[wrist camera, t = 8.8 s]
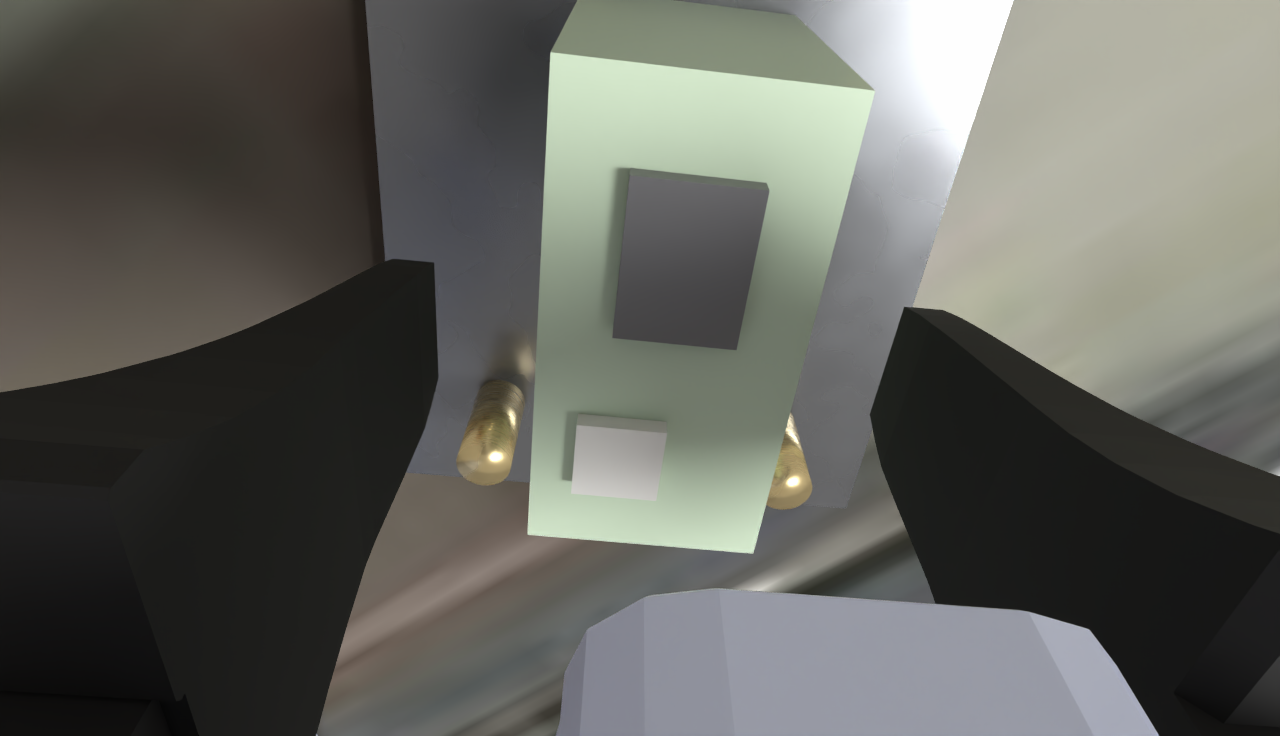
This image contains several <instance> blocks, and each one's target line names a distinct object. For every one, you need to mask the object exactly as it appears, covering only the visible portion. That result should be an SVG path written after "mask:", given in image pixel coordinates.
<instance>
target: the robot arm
mask: <svg viewBox="0 0 1280 736" xmlns="http://www.w3.org/2000/svg"><path fill="white" fill-rule="evenodd" d="M438 378H439V374H438V348H437V322H436V296H435V270H434V262H424V261H413V260H403V259H391V260H388V261H385V262H383V263H380V264H378V265H376V266H374V267H372V268H370V269H368V270H366V271H364V272H362V273H360V274H358V275H356V276H354V277H353V278H351V279H349V280H347V281H345V282H343V283H341V284H339V285H337V286H335V287H333V288H332V289H330V290H328V291H326V292H324V293H322V294H320V295H318V296H316V297H314V298H312V299H310V300H308V301H306V302H304V303H302V304H300V305H298V306H295V307H293V308H291V309H289V310H287V311H285V312H282V313H280V314H278V315H276V316H274V317H272V318H269V319H267V320H265V321H263V322H261V323H258V324H256V325H254V326H252V327H249V328H247V329H244V330H242V331H239V332H237V333H234V334H232V335H229V336H226V337H224V338H221V339H218V340H215V341H212V342H209V343H207V344H204V345H201V346H198V347H195V348H192V349H189V350H186V351H183V352H180V353H176V354H173V355H170V356H166V357H162V358H158V359H154V360H151V361H147V362H143V363H139V364H136V365H132V366H128V367H124V368H121V369H117V370H113V371H109V372H105V373H101V374H97V375H92V376H88V377H83V378H78V379H73V380H68V381H63V382H58V383H53V384H48V385H42V386H36V387H30V388H25V389H19V390H13V391H7V392H1V393H0V736H317V730H318V726H319V723H320V719H321V715H322V711H323V708H324V704H325V700H326V696H327V693H328V689H329V685H330V682H331V679H332V675H333V672H334V668H335V665H336V661H337V658H338V654H339V651H340V648H341V644H342V641H343V637H344V634H345V630H346V627H347V623H348V620H349V617H350V614H351V611H352V607H353V604H354V601H355V598H356V595H357V591H358V588H359V585H360V582H361V578H362V575H363V572H364V569H365V566H366V563H367V561H368V558H369V556H370V553H371V550H372V548H373V545H374V543H375V540H376V538H377V536H378V533H379V531H380V529H381V527H382V525H383V522H384V520H385V518H386V516H387V513H388V511H389V509H390V507H391V504H392V502H393V500H394V498H395V495H396V493H397V491H398V489H399V487H400V484H401V482H402V480H403V478H404V475H405V473H406V471H407V469H408V466H409V464H410V462H411V460H412V457H413V455H414V453H415V450H416V448H417V446H418V444H419V441H420V439H421V437H422V434H423V432H424V429H425V426H426V423H427V419H428V416H429V412H430V409H431V405H432V401H433V397H434V394H435V390H436V386H437V382H438ZM870 418H871V423H872V428H873V433H874V438H875V443H876V447H877V451H878V455H879V459H880V463H881V467H882V469H883V472H884V475H885V477H886V480H887V482H888V485H889V488H890V490H891V493H892V495H893V498H894V500H895V503H896V505H897V508H898V510H899V512H900V515H901V517H902V520H903V522H904V525H905V527H906V529H907V532H908V534H909V537H910V539H911V542H912V544H913V547H914V549H915V551H916V554H917V556H918V559H919V561H920V564H921V566H922V568H923V571H924V573H925V576H926V578H927V581H928V583H929V586H930V589H931V592H932V595H933V597H934V600H935V603H936V604H928V603H914V602H901V601H887V600H873V599H859V598H845V597H831V596H817V595H804V594H790V593H776V592H762V591H748V590H734V589H721V588H712V589H703V590H694V591H685V592H676V593H667V594H658V595H649V596H647V597H644V598H642V599H640V600H639V601H637V602H635V603H633V604H631V605H630V606H628V607H626V608H624V609H622V610H621V611H619V612H617V613H615V614H614V615H612V616H610V617H608V618H606V619H605V620H603V621H601V622H599V623H597V624H596V625H594V626H592V627H590V628H589V629H587V631H586V632H585V634H584V636H583V638H582V640H581V642H580V644H579V646H578V648H577V650H576V652H575V654H574V656H573V658H572V659H571V661H570V663H569V665H568V667H567V669H566V671H565V674H564V684H563V695H562V706H561V716H560V723H559V727H558V730H557V733H556V736H1280V476H1277V475H1274V474H1271V473H1268V472H1265V471H1263V470H1260V469H1258V468H1255V467H1252V466H1250V465H1247V464H1244V463H1242V462H1239V461H1236V460H1234V459H1231V458H1228V457H1226V456H1223V455H1221V454H1218V453H1215V452H1213V451H1210V450H1208V449H1206V448H1203V447H1201V446H1198V445H1196V444H1193V443H1191V442H1189V441H1186V440H1184V439H1182V438H1180V437H1177V436H1175V435H1173V434H1171V433H1169V432H1166V431H1164V430H1162V429H1160V428H1158V427H1156V426H1153V425H1151V424H1149V423H1147V422H1145V421H1142V420H1140V419H1138V418H1136V417H1134V416H1132V415H1130V414H1128V413H1126V412H1124V411H1122V410H1120V409H1118V408H1116V407H1114V406H1112V405H1110V404H1109V403H1107V402H1105V401H1103V400H1101V399H1099V398H1098V397H1096V396H1094V395H1092V394H1090V393H1088V392H1086V391H1085V390H1083V389H1081V388H1079V387H1077V386H1075V385H1074V384H1072V383H1070V382H1068V381H1067V380H1065V379H1063V378H1062V377H1060V376H1058V375H1056V374H1055V373H1053V372H1051V371H1050V370H1048V369H1046V368H1045V367H1043V366H1041V365H1040V364H1038V363H1036V362H1035V361H1033V360H1031V359H1030V358H1028V357H1026V356H1025V355H1023V354H1021V353H1020V352H1018V351H1016V350H1015V349H1013V348H1011V347H1010V346H1008V345H1007V344H1005V343H1003V342H1002V341H1000V340H998V339H997V338H995V337H993V336H992V335H990V334H988V333H987V332H985V331H983V330H982V329H980V328H978V327H976V326H974V325H973V324H971V323H969V322H967V321H965V320H964V319H962V318H960V317H958V316H955V315H953V314H951V313H949V312H946V311H943V310H935V309H924V308H914V307H904V309H903V312H902V315H901V318H900V321H899V324H898V328H897V331H896V334H895V337H894V340H893V343H892V346H891V349H890V353H889V356H888V359H887V362H886V365H885V368H884V371H883V374H882V378H881V381H880V384H879V387H878V390H877V393H876V396H875V400H874V403H873V406H872V409H871V412H870Z"/></svg>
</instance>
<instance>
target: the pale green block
mask: <svg viewBox="0 0 1280 736" xmlns="http://www.w3.org/2000/svg"><path fill="white" fill-rule="evenodd" d="M874 94H875V90H874V89H873V88H872V87H871V86H870V85H869V84H868V83H867V82H866V81H864V80H863V79H862V78H861V77H860V76H859V75H858V74H857V73H856V72H855V71H854V70H853V69H852V68H851V67H850V66H849V65H848V64H847V63H845V62H844V61H843V60H842V59H841V58H840V57H839V56H838V55H837V54H836V53H835V52H834V51H833V50H832V49H831V48H830V47H829V46H827V45H826V44H825V43H824V42H823V41H822V40H821V39H820V38H819V37H818V36H817V35H816V34H815V33H814V32H813V31H812V30H811V29H809V28H808V27H807V26H806V25H805V24H804V23H803V22H802V21H801V20H800V19H799V18H798V17H797V16H796V15H789V14H781V13H773V12H765V11H757V10H749V9H740V8H732V7H724V6H716V5H708V4H700V3H692V2H684V1H676V0H577V2H576V4H575V6H574V8H573V10H572V12H571V13H570V15H569V17H568V19H567V21H566V23H565V25H564V27H563V29H562V31H561V33H560V35H559V37H558V39H557V41H556V42H555V44H554V46H553V48H552V50H551V52H550V72H549V93H548V114H547V135H546V157H545V178H544V199H543V220H542V241H541V262H540V283H539V304H538V325H537V346H536V368H535V389H534V410H533V431H532V452H531V473H530V494H529V515H528V535H538V536H550V537H562V538H574V539H586V540H598V541H610V542H622V543H634V544H645V545H657V546H669V547H681V548H693V549H705V550H717V551H729V552H741V553H753V552H754V548H755V545H756V541H757V537H758V533H759V529H760V526H761V522H762V518H763V514H764V510H765V507H766V503H767V499H768V495H769V491H770V488H771V484H772V480H773V476H774V473H775V469H776V465H777V461H778V457H779V454H780V450H781V446H782V442H783V438H784V435H785V431H786V427H787V423H788V420H789V416H790V412H791V408H792V404H793V401H794V397H795V393H796V389H797V385H798V382H799V378H800V374H801V370H802V367H803V363H804V359H805V355H806V351H807V348H808V344H809V340H810V336H811V332H812V329H813V325H814V321H815V317H816V314H817V310H818V306H819V302H820V298H821V295H822V291H823V287H824V283H825V279H826V276H827V272H828V268H829V264H830V261H831V257H832V253H833V249H834V245H835V242H836V238H837V234H838V230H839V226H840V223H841V219H842V215H843V211H844V208H845V204H846V200H847V196H848V192H849V189H850V185H851V181H852V177H853V173H854V170H855V166H856V162H857V158H858V155H859V151H860V147H861V143H862V139H863V136H864V132H865V128H866V124H867V120H868V117H869V113H870V109H871V105H872V101H873V98H874Z"/></svg>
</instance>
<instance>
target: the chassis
mask: <svg viewBox="0 0 1280 736" xmlns="http://www.w3.org/2000/svg"><path fill="white" fill-rule="evenodd" d="M676 1H684V2H692V3H700V4H708V5H716V6H724V7H732V8H740V9H749V10H757V11H765V12H773V13H781V14H789V15H796V16H797V17H798V18H799V19H800V20H801V21H802V22H803V23H804V24H805V25H806V26H807V27H808V28H809V29H811V30H812V31H813V32H814V33H815V34H816V35H817V36H818V37H819V38H820V39H821V40H822V41H823V42H824V43H825V44H826V45H827V46H829V47H830V48H831V49H832V50H833V51H834V52H835V53H836V54H837V55H838V56H839V57H840V58H841V59H842V60H843V61H844V62H845V63H847V64H848V65H849V66H850V67H851V68H852V69H853V70H854V71H855V72H856V73H857V74H858V75H859V76H860V77H861V78H862V79H863V80H864V81H866V82H867V83H868V84H869V85H870V86H871V87H872V88H873V89H874V90H875V94H874V98H873V101H872V105H871V109H870V113H869V117H868V120H867V124H866V128H865V132H864V136H863V139H862V143H861V147H860V151H859V155H858V158H857V162H856V166H855V170H854V173H853V177H852V181H851V185H850V189H849V192H848V196H847V200H846V204H845V208H844V211H843V215H842V219H841V223H840V226H839V230H838V234H837V238H836V242H835V245H834V249H833V253H832V257H831V261H830V264H829V268H828V272H827V276H826V279H825V283H824V287H823V291H822V295H821V298H820V302H819V306H818V310H817V314H816V317H815V321H814V325H813V329H812V332H811V336H810V340H809V344H808V348H807V351H806V355H805V359H804V363H803V367H802V370H801V374H800V378H799V382H798V385H797V389H796V393H795V397H794V401H793V404H792V408H791V412H790V416H789V420H788V423H787V427H786V431H785V435H784V438H783V442H782V446H781V450H780V454H779V457H778V461H777V465H776V469H775V473H774V476H773V480H772V484H771V488H770V491H769V495H768V499H767V503H766V505H768V506H770V507H772V508H775V509H783V510H784V509H791V508H795V507H797V506H799V505H810V506H822V507H835V508H846V507H847V504H848V501H849V498H850V495H851V492H852V489H853V486H854V483H855V480H856V477H857V474H858V471H859V468H860V465H861V462H862V458H863V455H864V452H865V449H866V446H867V443H868V440H869V437H870V434H871V431H872V423H871V418H870V412H871V409H872V406H873V403H874V400H875V396H876V393H877V390H878V387H879V384H880V381H881V378H882V374H883V371H884V368H885V365H886V362H887V359H888V356H889V353H890V349H891V346H892V343H893V340H894V337H895V334H896V331H897V328H898V324H899V321H900V318H901V315H902V312H903V309H904V307H912V306H913V303H914V300H915V297H916V294H917V291H918V288H919V285H920V282H921V279H922V276H923V273H924V270H925V267H926V264H927V261H928V258H929V255H930V252H931V249H932V245H933V242H934V239H935V236H936V233H937V230H938V227H939V224H940V221H941V218H942V215H943V212H944V209H945V206H946V203H947V200H948V197H949V194H950V191H951V188H952V185H953V182H954V179H955V175H956V172H957V169H958V166H959V163H960V160H961V157H962V154H963V151H964V148H965V145H966V142H967V139H968V136H969V133H970V130H971V127H972V124H973V121H974V118H975V115H976V112H977V109H978V105H979V102H980V99H981V96H982V93H983V90H984V87H985V84H986V81H987V78H988V75H989V72H990V69H991V66H992V63H993V60H994V57H995V54H996V51H997V48H998V45H999V42H1000V39H1001V35H1002V32H1003V29H1004V26H1005V23H1006V20H1007V17H1008V14H1009V11H1010V8H1011V5H1012V2H1013V0H676ZM576 2H577V0H365V4H366V17H367V30H368V43H369V56H370V69H371V82H372V95H373V108H374V121H375V134H376V147H377V160H378V173H379V186H380V199H381V212H382V225H383V238H384V251H385V261H388V260H391V259H403V260H413V261H424V262H434V270H435V296H436V322H437V348H438V374H439V378H438V382H437V386H436V390H435V394H434V397H433V401H432V405H431V409H430V412H429V416H428V419H427V423H426V426H425V429H424V432H423V434H422V437H421V439H420V441H419V444H418V446H417V448H416V450H415V453H414V455H413V457H412V460H411V462H410V464H409V466H408V469H407V471H406V472H408V473H420V474H432V475H444V476H456V477H464V478H466V479H467V480H469V481H470V482H473V483H475V484H479V485H494V484H497V483H500V482H501V481H503V480H505V481H517V482H530V473H531V452H532V431H533V410H534V389H535V368H536V346H537V325H538V304H539V283H540V262H541V241H542V220H543V199H544V178H545V157H546V135H547V114H548V93H549V72H550V52H551V50H552V48H553V46H554V44H555V42H556V41H557V39H558V37H559V35H560V33H561V31H562V29H563V27H564V25H565V23H566V21H567V19H568V17H569V15H570V13H571V12H572V10H573V8H574V6H575V4H576Z"/></svg>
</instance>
